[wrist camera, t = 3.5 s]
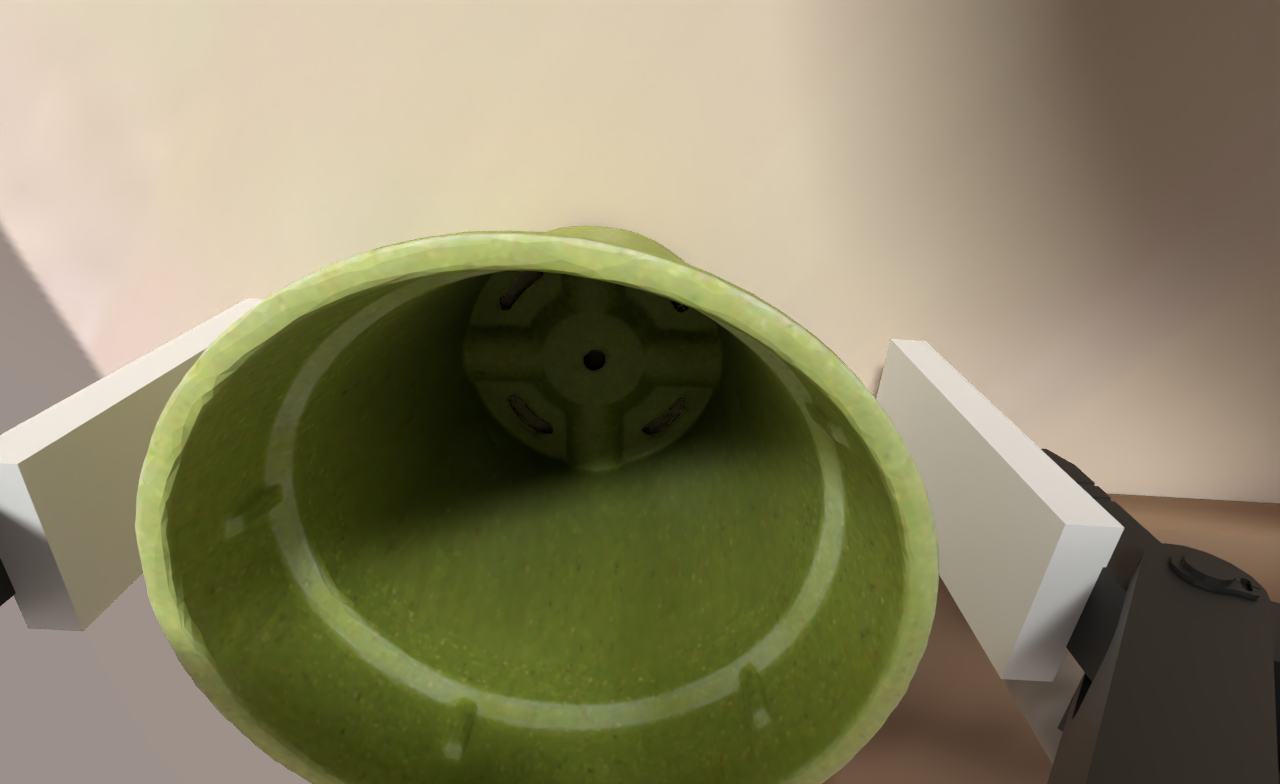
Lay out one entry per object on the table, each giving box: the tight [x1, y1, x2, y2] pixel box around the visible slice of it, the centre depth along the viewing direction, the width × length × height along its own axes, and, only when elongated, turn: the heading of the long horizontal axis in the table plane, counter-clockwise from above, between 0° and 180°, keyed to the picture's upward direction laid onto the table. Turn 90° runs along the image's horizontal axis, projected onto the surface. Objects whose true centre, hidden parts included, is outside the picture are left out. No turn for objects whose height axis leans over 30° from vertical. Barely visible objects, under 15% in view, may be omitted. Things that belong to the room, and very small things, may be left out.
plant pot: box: [135, 226, 939, 784], centre depth 12 cm, size 9×9×9 cm
